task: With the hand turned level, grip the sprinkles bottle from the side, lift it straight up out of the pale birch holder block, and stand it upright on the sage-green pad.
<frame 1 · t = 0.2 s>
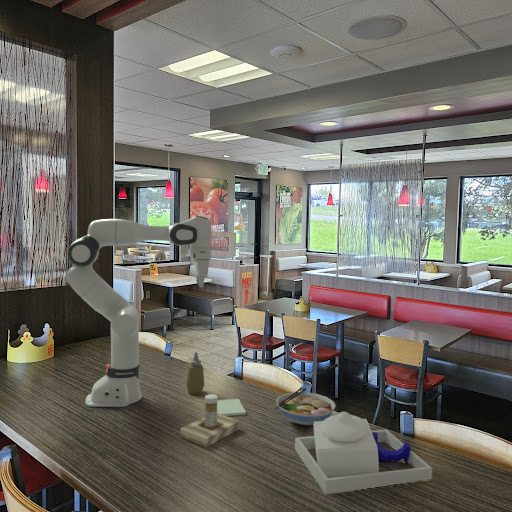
hand: (199, 285, 194), 48 cm above the table, tool pointing down, fingers open, 8 cm apart
ramen bowl: (304, 422, 173), on the table
cable clip: (386, 458, 145), point 1 cm above the table, touching white block with dome, grey rectangular tray
pad: (225, 408, 182), on the table
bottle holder: (210, 432, 161), on the table
grey rectangular tray: (359, 464, 142), on the table
squeeze bottle: (195, 392, 199), on the table
sprinkles bottle: (210, 433, 161), resting in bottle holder
white block with dome: (345, 460, 142), point 1 cm above the table, touching cable clip, grey rectangular tray
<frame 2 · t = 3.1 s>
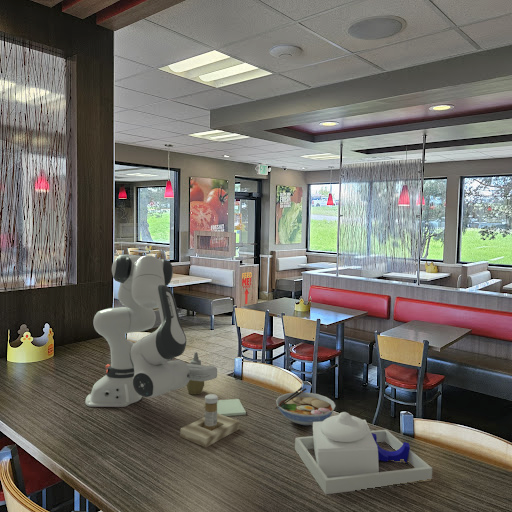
hand: (200, 366, 154), 26 cm above the table, tool horizontal, fingers open, 8 cm apart
nothing on the table moved.
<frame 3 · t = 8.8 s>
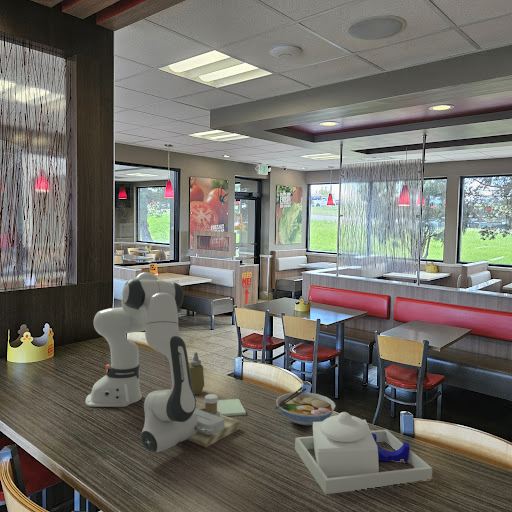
hand: (212, 411, 161), 8 cm above the table, tool horizontal, fingers closed on sprinkles bottle, 4 cm apart
sprinkles bottle: (210, 433, 161), resting in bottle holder, touching gripper
everything else where it was.
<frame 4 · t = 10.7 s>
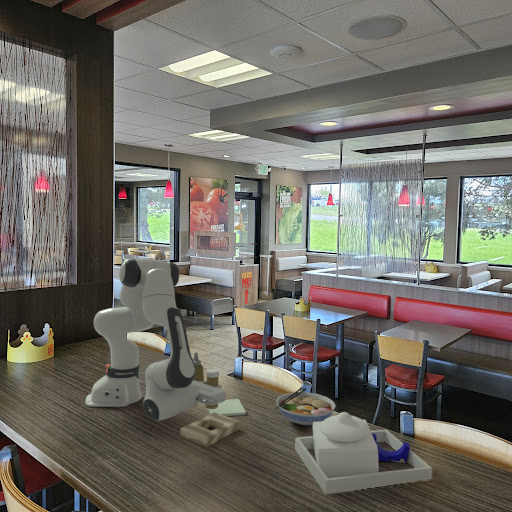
hand: (214, 384, 162), 17 cm above the table, tool horizontal, fingers closed on sprinkles bottle, 4 cm apart
sprinkles bottle: (211, 407, 162), point 8 cm above the table, touching gripper
everything else where it was.
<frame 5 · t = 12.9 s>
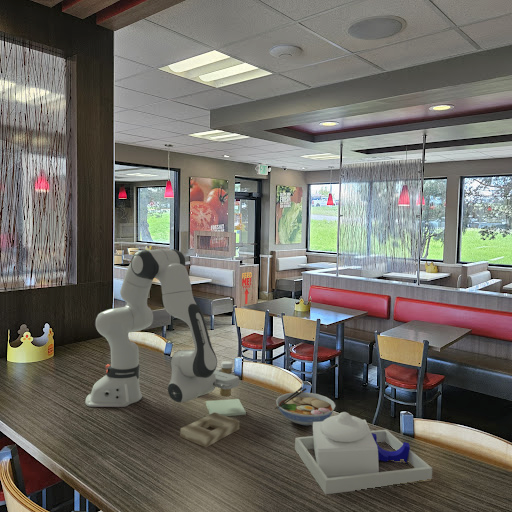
hand: (227, 372, 182), 15 cm above the table, tool horizontal, fingers closed on sprinkles bottle, 4 cm apart
sprinkles bottle: (225, 395, 181), point 6 cm above the table, touching gripper
everything else where it was.
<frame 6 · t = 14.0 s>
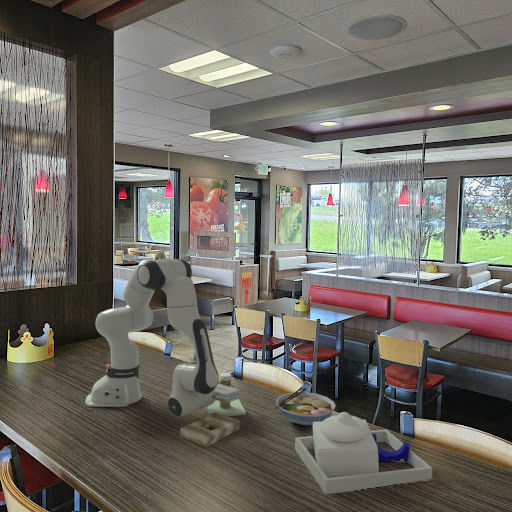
hand: (227, 384, 182), 10 cm above the table, tool horizontal, fingers closed on sprinkles bottle, 4 cm apart
sprinkles bottle: (224, 407, 182), point 1 cm above the table, touching gripper, pad
everything else where it was.
when the fingers open (10 cm above the table, at t = 14.3 s): sprinkles bottle stays where it is, resting on pad.
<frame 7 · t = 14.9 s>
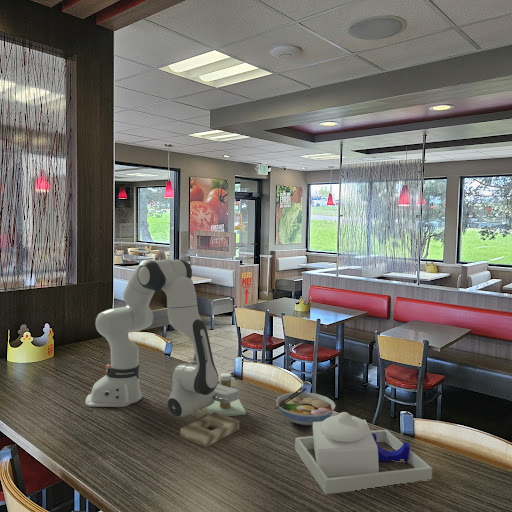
hand: (227, 385, 182), 10 cm above the table, tool horizontal, fingers open, 8 cm apart
sprinkles bottle: (224, 407, 182), point 1 cm above the table, touching pad
everything else where it was.
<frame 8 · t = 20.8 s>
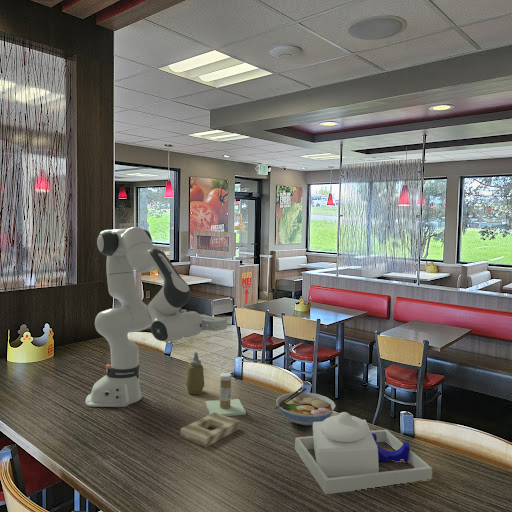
hand: (216, 318, 175), 38 cm above the table, tool horizontal, fingers open, 8 cm apart
nothing on the table moved.
at the end: sprinkles bottle inside the target area on the pad (0.4 cm from its centre), point 0.8 cm above the pad's base; sprinkles bottle tilted 0°; the gripper is holding nothing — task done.
